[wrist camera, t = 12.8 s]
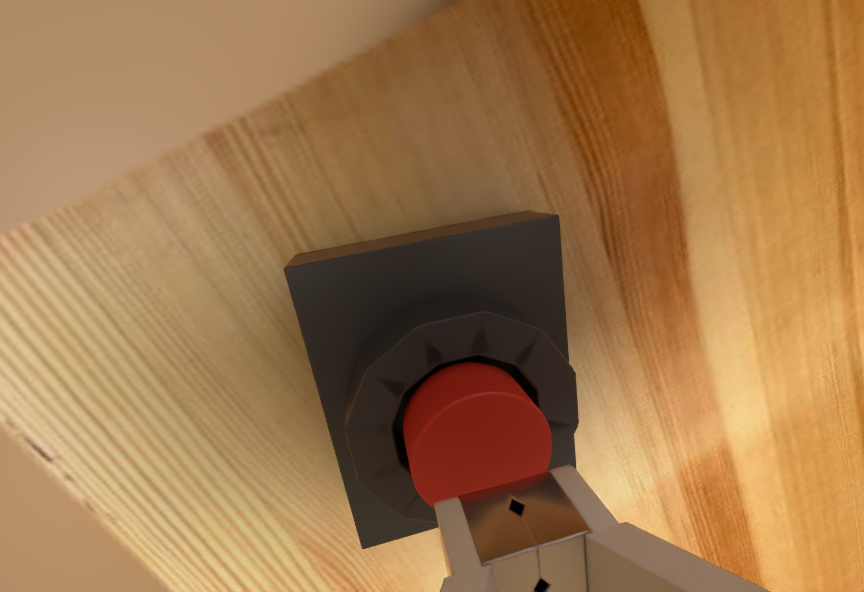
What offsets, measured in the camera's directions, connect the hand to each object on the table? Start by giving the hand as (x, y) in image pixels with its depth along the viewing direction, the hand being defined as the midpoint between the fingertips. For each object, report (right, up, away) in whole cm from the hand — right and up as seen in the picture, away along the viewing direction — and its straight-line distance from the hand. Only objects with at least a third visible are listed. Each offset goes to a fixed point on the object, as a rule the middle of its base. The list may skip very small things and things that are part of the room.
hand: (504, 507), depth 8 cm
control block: (-1, +2, +6) cm, 7 cm away
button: (-1, +1, +3) cm, 3 cm away
